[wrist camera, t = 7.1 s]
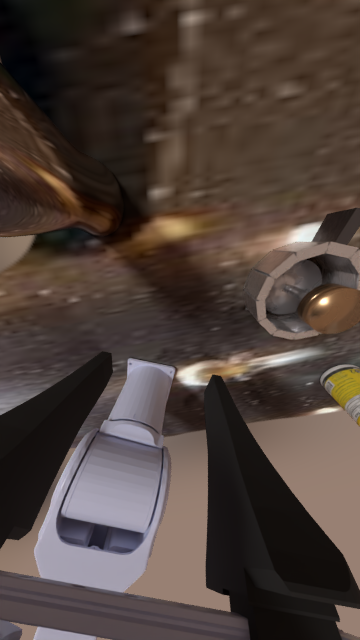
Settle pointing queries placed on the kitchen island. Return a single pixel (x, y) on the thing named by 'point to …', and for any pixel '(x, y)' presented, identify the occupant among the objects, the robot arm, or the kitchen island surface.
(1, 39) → the kitchen island surface
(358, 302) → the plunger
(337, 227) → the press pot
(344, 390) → the supplement bottle
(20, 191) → the beer glass
